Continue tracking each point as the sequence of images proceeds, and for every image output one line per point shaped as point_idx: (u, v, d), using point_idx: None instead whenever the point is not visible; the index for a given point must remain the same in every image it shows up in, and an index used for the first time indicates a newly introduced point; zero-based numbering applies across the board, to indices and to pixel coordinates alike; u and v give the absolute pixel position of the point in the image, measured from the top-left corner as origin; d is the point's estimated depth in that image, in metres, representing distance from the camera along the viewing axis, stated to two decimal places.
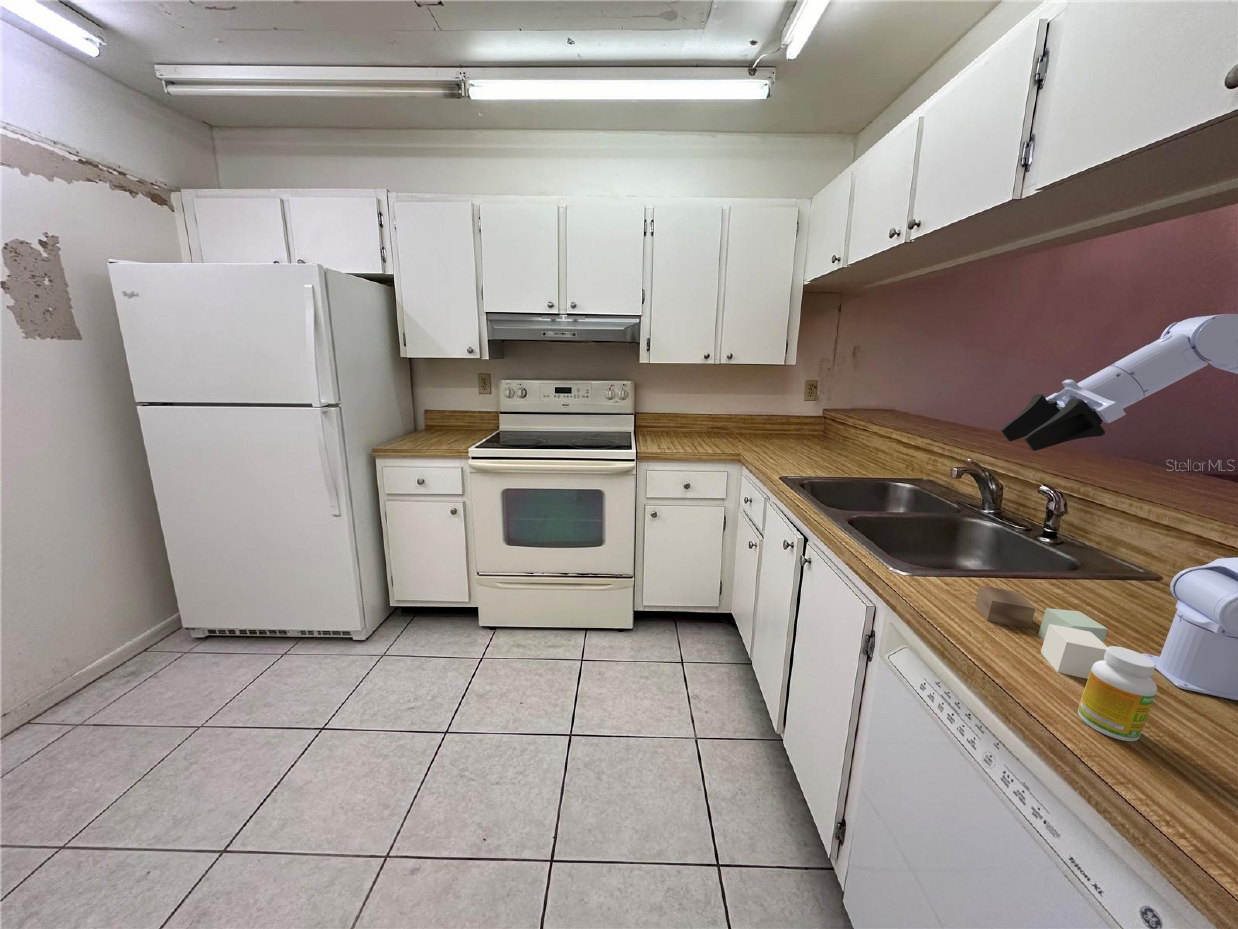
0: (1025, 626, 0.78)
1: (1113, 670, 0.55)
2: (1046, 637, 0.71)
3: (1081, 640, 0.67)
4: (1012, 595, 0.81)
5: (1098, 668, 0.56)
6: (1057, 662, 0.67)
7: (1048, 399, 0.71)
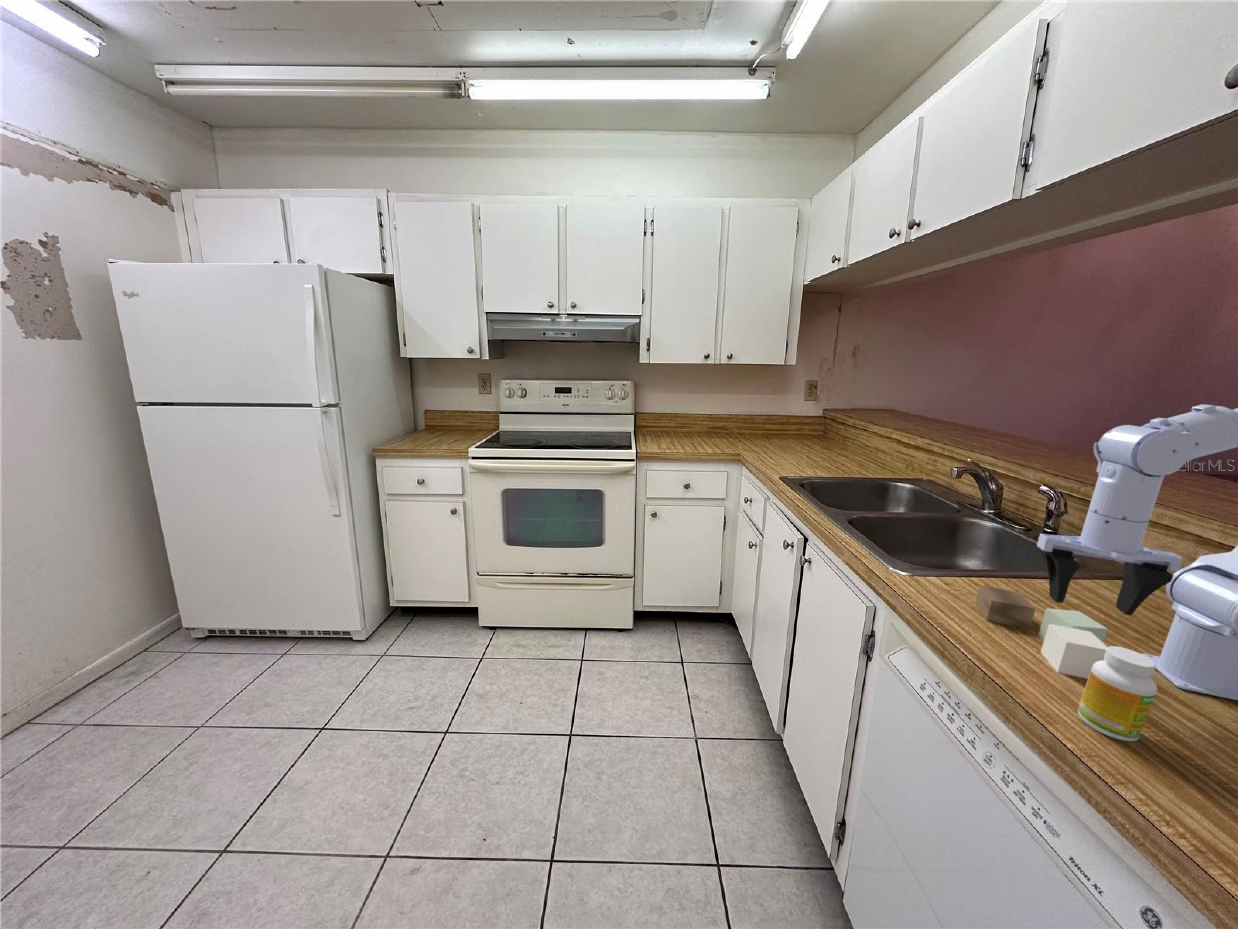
0: (1025, 626, 0.78)
1: (1113, 670, 0.55)
2: (1046, 637, 0.71)
3: (1081, 640, 0.67)
4: (1012, 595, 0.81)
5: (1098, 668, 0.56)
6: (1057, 662, 0.67)
7: (1052, 549, 0.66)
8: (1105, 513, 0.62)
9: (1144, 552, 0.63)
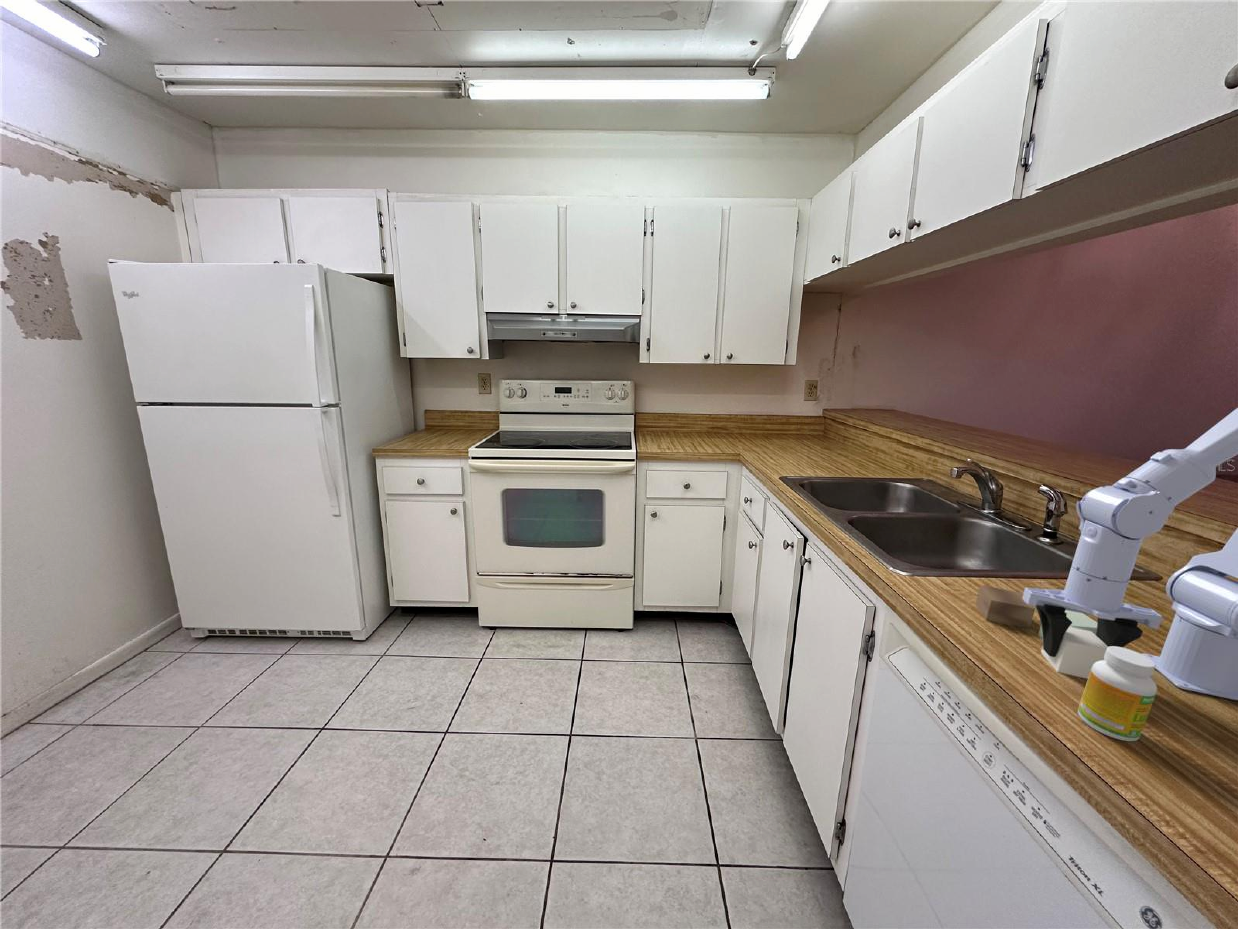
0: (1024, 626, 0.78)
1: (1113, 670, 0.55)
2: None
3: (1081, 640, 0.66)
4: (1012, 595, 0.81)
5: (1098, 668, 0.56)
6: (1057, 661, 0.67)
7: (1037, 603, 0.68)
8: (1087, 572, 0.64)
9: (1125, 609, 0.65)
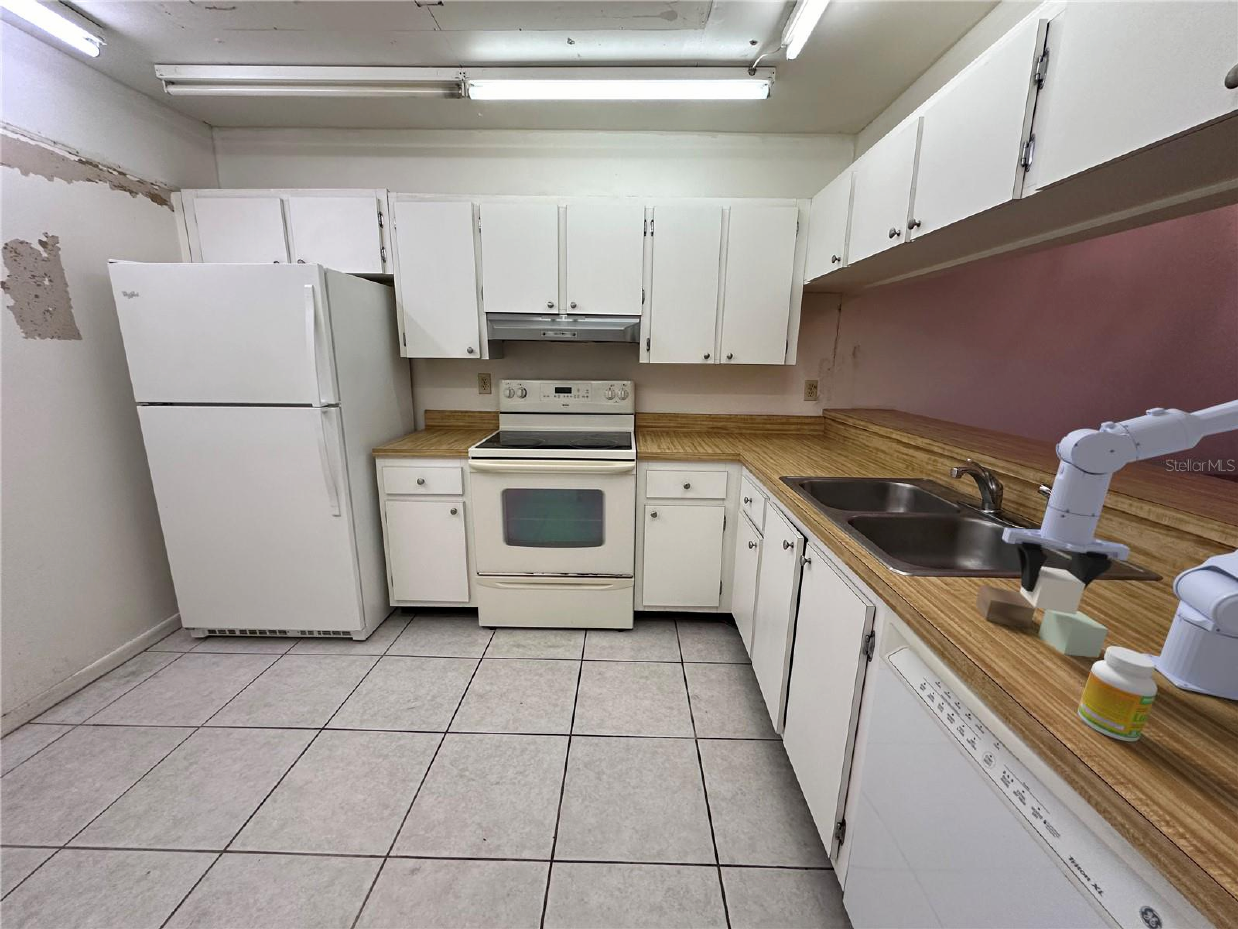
0: (1024, 626, 0.78)
1: (1113, 670, 0.55)
2: None
3: (1057, 576, 0.71)
4: (1013, 595, 0.81)
5: (1098, 668, 0.56)
6: (1035, 598, 0.72)
7: (1015, 541, 0.72)
8: (1053, 506, 0.70)
9: (1096, 543, 0.69)
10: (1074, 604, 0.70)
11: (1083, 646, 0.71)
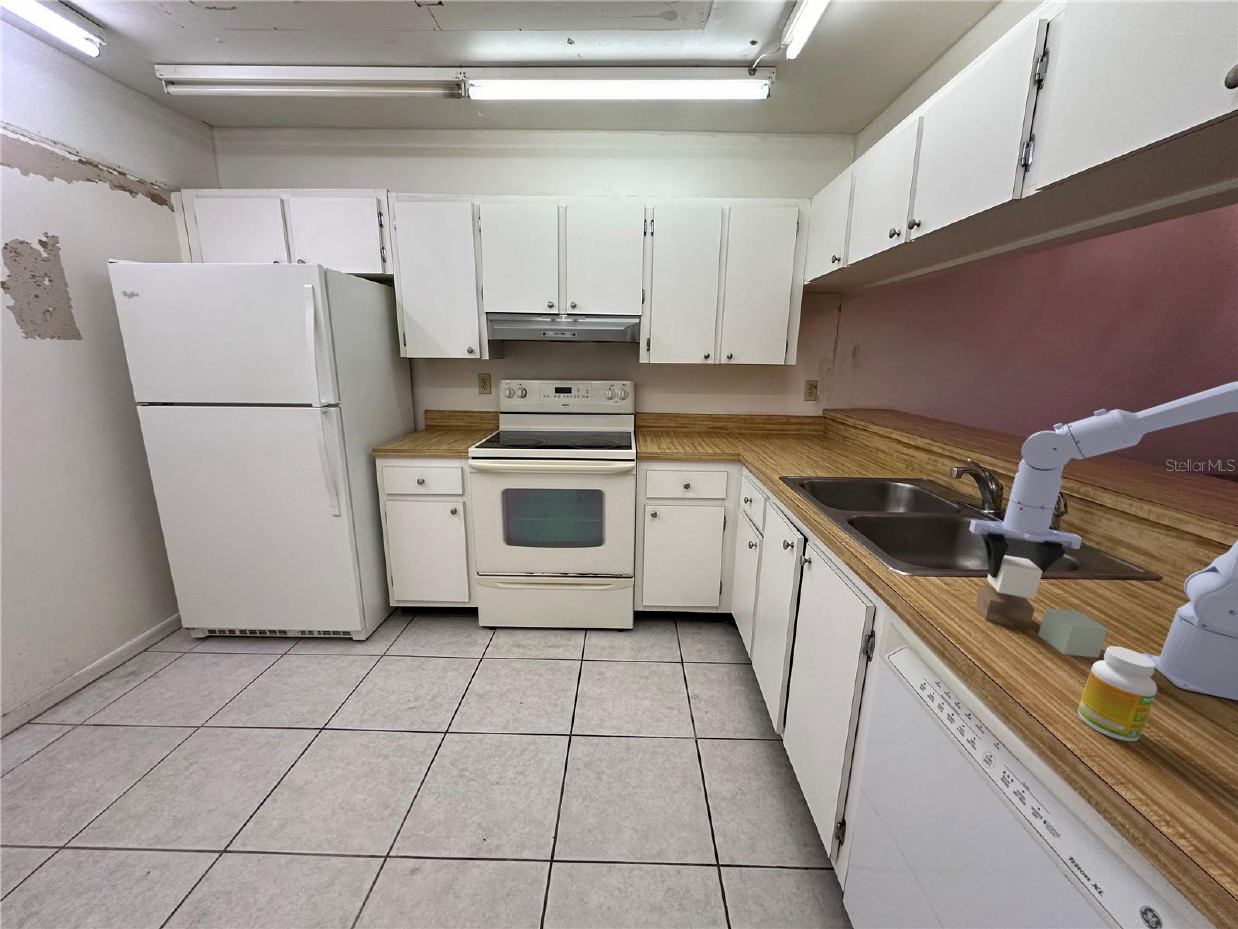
0: (1024, 626, 0.78)
1: (1113, 670, 0.55)
2: None
3: (1018, 564, 0.78)
4: (1013, 595, 0.81)
5: (1098, 668, 0.56)
6: (998, 583, 0.79)
7: (980, 532, 0.80)
8: (1010, 498, 0.78)
9: (1053, 534, 0.77)
10: (1033, 589, 0.77)
11: (1083, 646, 0.71)
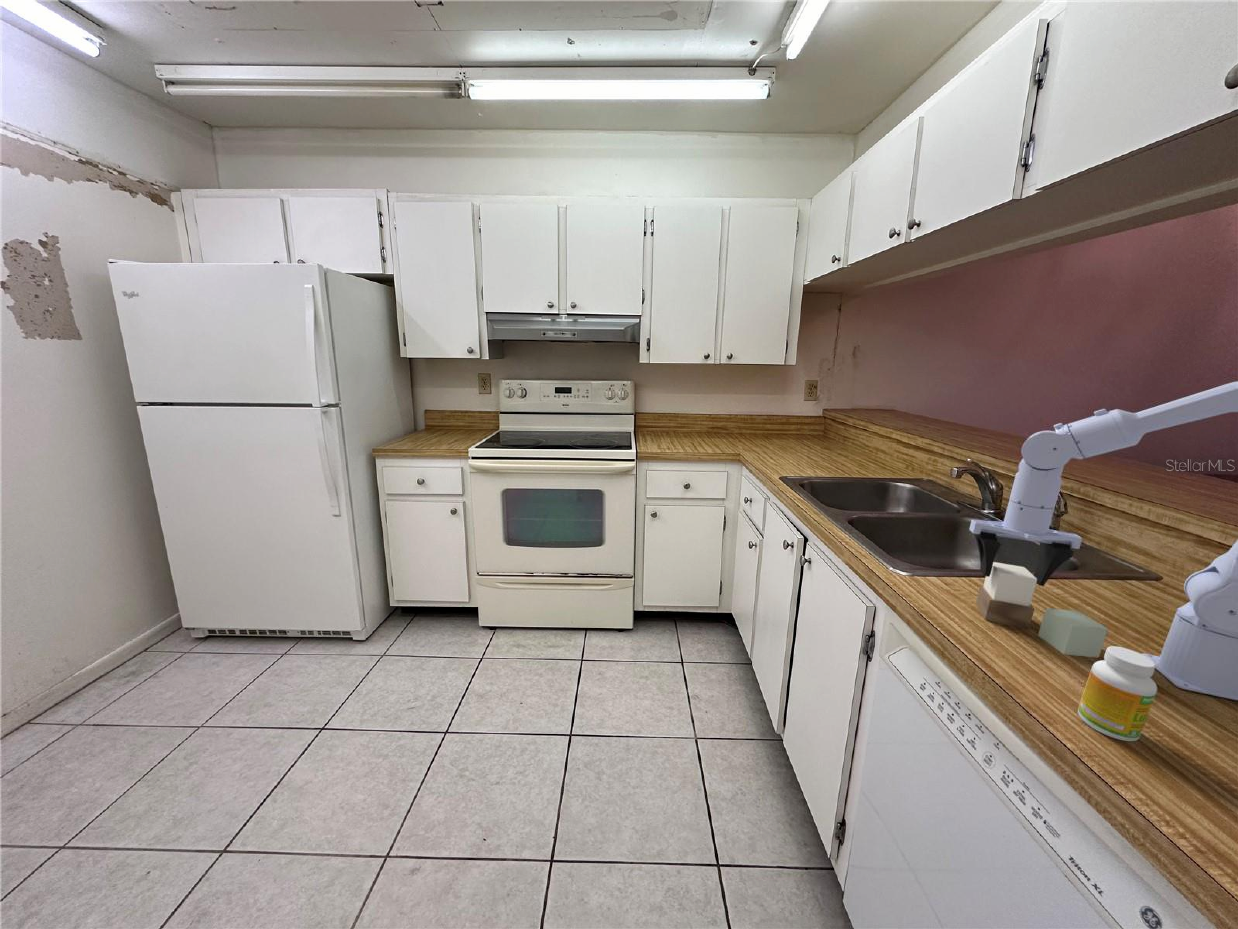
0: (1024, 626, 0.78)
1: (1113, 670, 0.55)
2: None
3: (1013, 572, 0.79)
4: None
5: (1098, 668, 0.56)
6: (993, 591, 0.80)
7: (980, 532, 0.80)
8: (1010, 498, 0.78)
9: (1053, 534, 0.77)
10: (1028, 597, 0.78)
11: (1083, 646, 0.71)
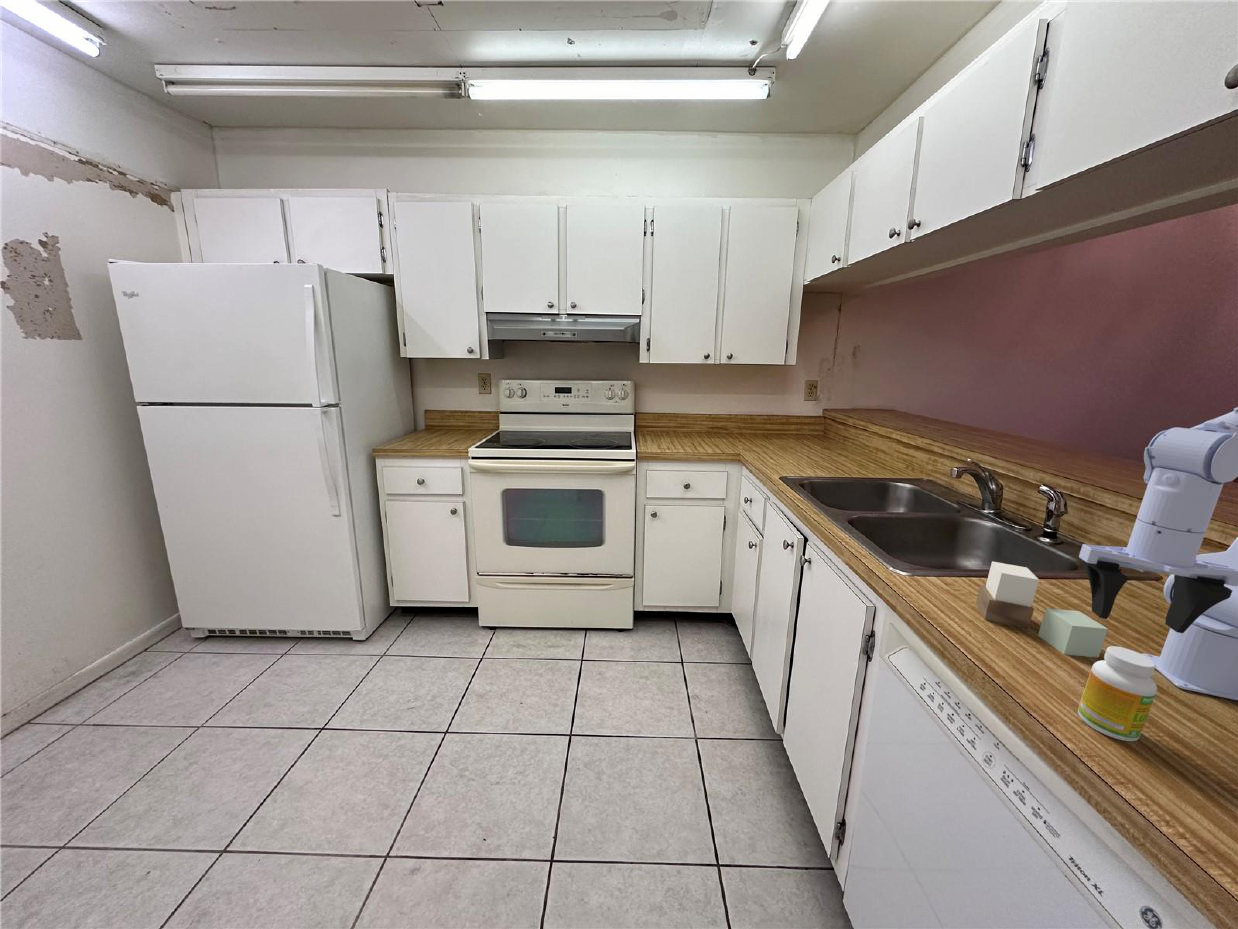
0: (1023, 626, 0.78)
1: (1113, 670, 0.55)
2: (989, 573, 0.83)
3: (1014, 572, 0.79)
4: None
5: (1098, 668, 0.56)
6: (995, 591, 0.80)
7: (1097, 561, 0.61)
8: (1168, 525, 0.57)
9: (1198, 565, 0.58)
10: (1029, 597, 0.78)
11: (1083, 646, 0.71)
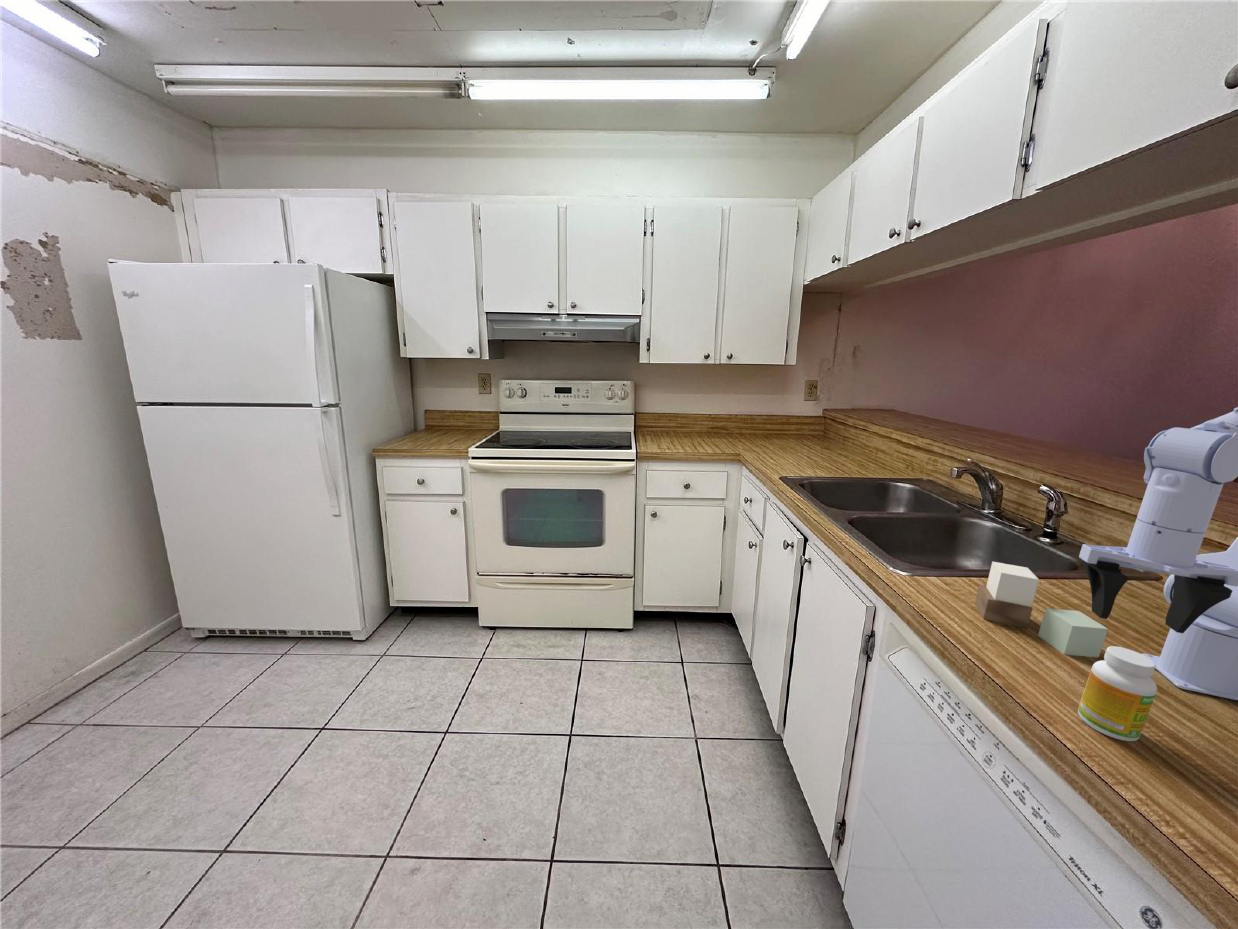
0: (1022, 626, 0.78)
1: (1113, 670, 0.55)
2: (990, 573, 0.83)
3: (1014, 572, 0.79)
4: None
5: (1098, 668, 0.56)
6: (995, 591, 0.80)
7: (1097, 561, 0.61)
8: (1168, 525, 0.57)
9: (1198, 565, 0.58)
10: (1030, 597, 0.77)
11: (1083, 646, 0.71)
